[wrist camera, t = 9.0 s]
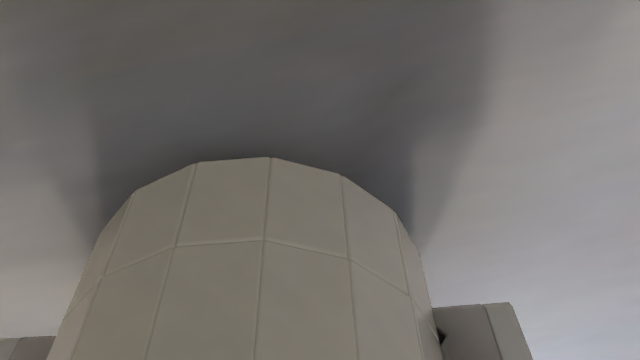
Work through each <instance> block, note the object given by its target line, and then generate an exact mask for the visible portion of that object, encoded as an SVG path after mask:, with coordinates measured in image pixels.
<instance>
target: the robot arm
mask: <svg viewBox="0 0 640 360" xmlns="http://www.w3.org/2000/svg"><path fill="white" fill-rule="evenodd" d="M432 311H433V315H434V319H435V324H436V328H437V333H438V337H439V342H440V345H441V350H442V354H443V359H444V360H533V358H532V356H531V353H530V351H529V348H528V345H527V343H526V340H525V337H524V335H523V332H522V330H521V327H520V324H519V322H518V319H517V317H516V314H515V311H514V309H513V306H512V305H511V304H510V303H509V302H505V303H492V304H482V305H481V304H474V305H462V306H450V307H439V308H432ZM55 338H56V336H41V337H23V338H6V339H0V360H46V359H47V357H48V354H49V352H50V350H51V347H52V345H53V342H54V340H55Z"/></svg>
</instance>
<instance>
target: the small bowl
mask: <svg viewBox="0 0 640 360" xmlns="http://www.w3.org/2000/svg"><path fill="white" fill-rule="evenodd" d="M46 360H444V359H443V354H442V350H441V345H440V342H439V337H438V333H437V328H436V324H435V319H434V315H433V311H432V306H431V302H430V298H429V293H428V289H427V284H426V280H425V276H424V271H423V267H422V262H421V258H420V254H419V252H418V251H417V249H416V247H415V245H414V244H413V242H412V240H411V238H410V237H409V235H408V233H407V231H406V230H405V228H404V226H403V224H402V223H401V221H400V219H399V217H398V215H397V214H396V212H394V211H393V210H392V209H391V208H390V207H388V206H387V205H385V204H384V203H382V202H381V201H380V200H378V199H377V198H375V197H374V196H372V195H371V194H369V193H368V192H367V191H365V190H364V189H362V188H361V187H359V186H358V185H356V184H355V183H353V182H352V181H351V180H349V179H348V178H346V177H345V176H340V174H338V173H335V172H331V171H327V170H323V169H319V168H315V167H311V166H307V165H303V164H299V163H295V162H291V161H287V160H283V159H279V158H275V157H272V158H271V159H270V158H269V157H255V158H242V159H230V160H218V161H205V162H198V163H197V164H196V163H193V164H191V165H189V166H187V167H184V168H182V169H180V170H178V171H176V172H174V173H172V174H169V175H167V176H165V177H163V178H161V179H159V180H156V181H154V182H152V183H150V184H148V185H146V186H144V187H141V188H139V189H137V190H136V192H133V193H132V194H131V195H130V197H129V198H128V199H127V200H126V202H125V203H124V204H123V205H122V206H121V208H120V209H119V210H118V211H117V212H116V214H115V215H114V216H113V217H112V218H111V220H110V221H109V222H108V223H107V225H106V226H105V227H104V228H103V229H102V231H101V232H100V234H99V236H98V239H97V241H96V243H95V246H94V248H93V251H92V253H91V255H90V258H89V260H88V262H87V265H86V267H85V270H84V272H83V274H82V277H81V279H80V281H79V284H78V286H77V289H76V291H75V293H74V296H73V298H72V300H71V303H70V305H69V307H68V310H67V312H66V315H65V317H64V319H63V322H62V324H61V326H60V328H59V331H58V333H57V335H56V338H55V340H54V342H53V345H52V347H51V350H50V352H49V354H48V357H47V359H46Z"/></svg>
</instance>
